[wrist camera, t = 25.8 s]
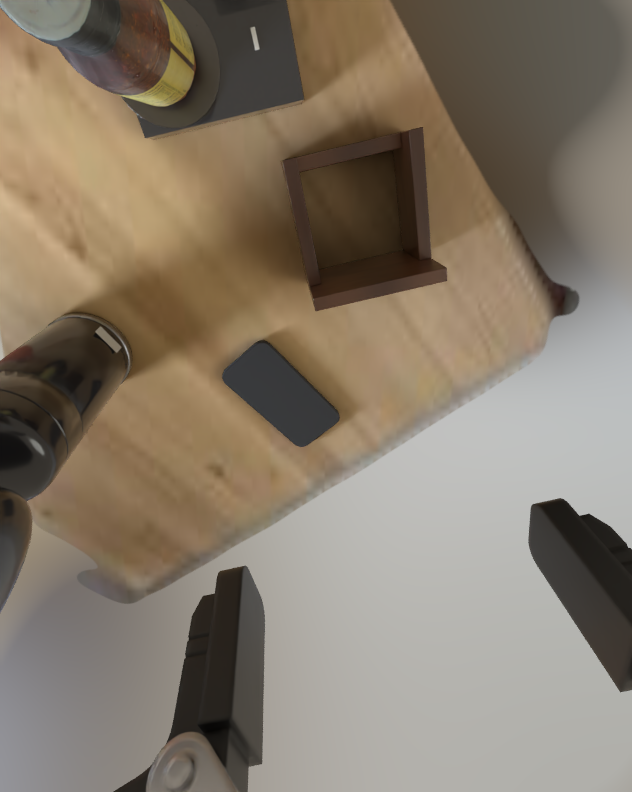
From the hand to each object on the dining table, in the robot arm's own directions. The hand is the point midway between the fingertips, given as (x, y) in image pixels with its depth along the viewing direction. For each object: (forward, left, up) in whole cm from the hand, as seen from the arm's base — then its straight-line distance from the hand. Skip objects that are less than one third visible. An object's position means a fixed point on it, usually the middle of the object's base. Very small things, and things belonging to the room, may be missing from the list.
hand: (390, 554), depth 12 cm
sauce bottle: (-8, +18, -35) cm, 40 cm away
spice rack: (+6, +4, -38) cm, 39 cm away
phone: (-6, -15, -38) cm, 41 cm away
